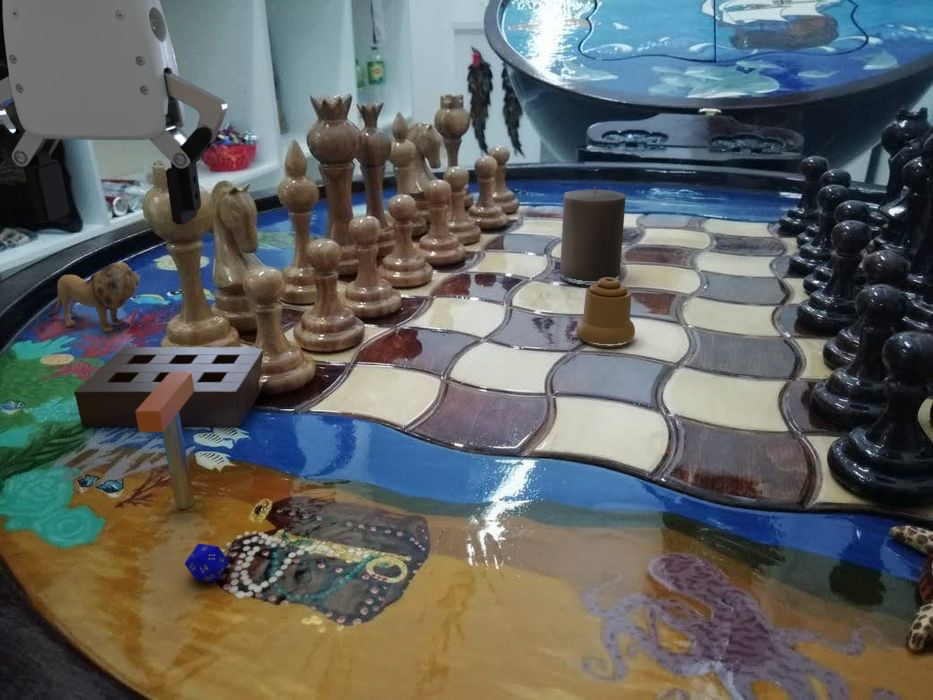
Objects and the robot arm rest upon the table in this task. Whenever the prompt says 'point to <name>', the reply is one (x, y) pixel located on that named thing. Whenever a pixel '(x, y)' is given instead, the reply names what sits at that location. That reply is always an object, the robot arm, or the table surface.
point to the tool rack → (143, 368)
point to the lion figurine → (97, 293)
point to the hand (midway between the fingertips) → (120, 219)
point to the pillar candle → (592, 235)
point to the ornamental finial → (606, 314)
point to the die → (206, 562)
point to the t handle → (170, 429)
